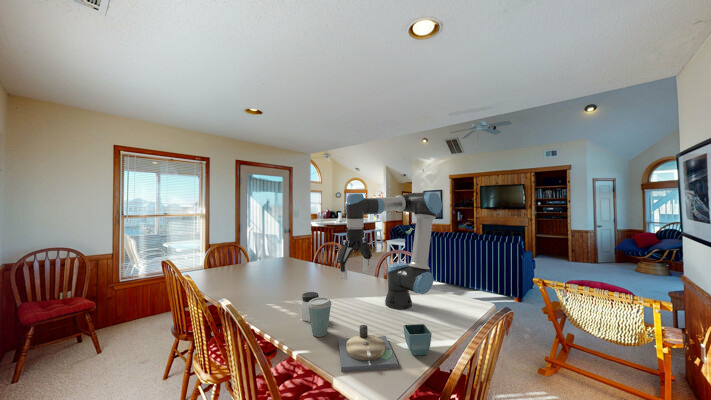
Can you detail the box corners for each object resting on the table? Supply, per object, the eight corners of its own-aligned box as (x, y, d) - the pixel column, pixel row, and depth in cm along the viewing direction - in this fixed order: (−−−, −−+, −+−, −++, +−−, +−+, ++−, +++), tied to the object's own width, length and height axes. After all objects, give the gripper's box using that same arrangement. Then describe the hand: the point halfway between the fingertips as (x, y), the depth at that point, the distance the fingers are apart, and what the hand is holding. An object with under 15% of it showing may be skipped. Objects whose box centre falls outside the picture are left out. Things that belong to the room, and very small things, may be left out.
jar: (305, 323, 133) (305, 298, 133) (299, 317, 140) (298, 293, 140) (322, 318, 138) (322, 294, 138) (315, 313, 145) (315, 290, 145)
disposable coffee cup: (311, 341, 115) (310, 305, 115) (305, 330, 125) (304, 297, 125) (334, 336, 119) (334, 301, 120) (327, 326, 129) (327, 294, 130)
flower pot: (403, 346, 110) (402, 324, 111) (424, 345, 111) (424, 323, 111) (409, 359, 102) (409, 334, 102) (432, 357, 102) (432, 333, 103)
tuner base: (385, 339, 116) (385, 335, 116) (398, 367, 96) (398, 362, 96) (338, 342, 114) (338, 338, 114) (341, 371, 94) (341, 366, 94)
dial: (390, 361, 97) (390, 344, 97) (348, 364, 96) (348, 346, 96) (381, 338, 114) (380, 323, 114) (344, 340, 112) (344, 325, 112)
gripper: (367, 226, 134) (367, 269, 134) (328, 229, 116) (328, 280, 116) (379, 226, 129) (379, 272, 129) (340, 230, 111) (340, 283, 110)
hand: (355, 276), depth 122 cm, fingers open, 13 cm apart
